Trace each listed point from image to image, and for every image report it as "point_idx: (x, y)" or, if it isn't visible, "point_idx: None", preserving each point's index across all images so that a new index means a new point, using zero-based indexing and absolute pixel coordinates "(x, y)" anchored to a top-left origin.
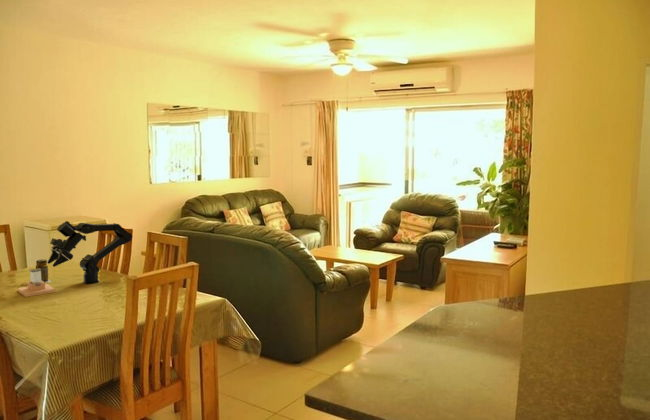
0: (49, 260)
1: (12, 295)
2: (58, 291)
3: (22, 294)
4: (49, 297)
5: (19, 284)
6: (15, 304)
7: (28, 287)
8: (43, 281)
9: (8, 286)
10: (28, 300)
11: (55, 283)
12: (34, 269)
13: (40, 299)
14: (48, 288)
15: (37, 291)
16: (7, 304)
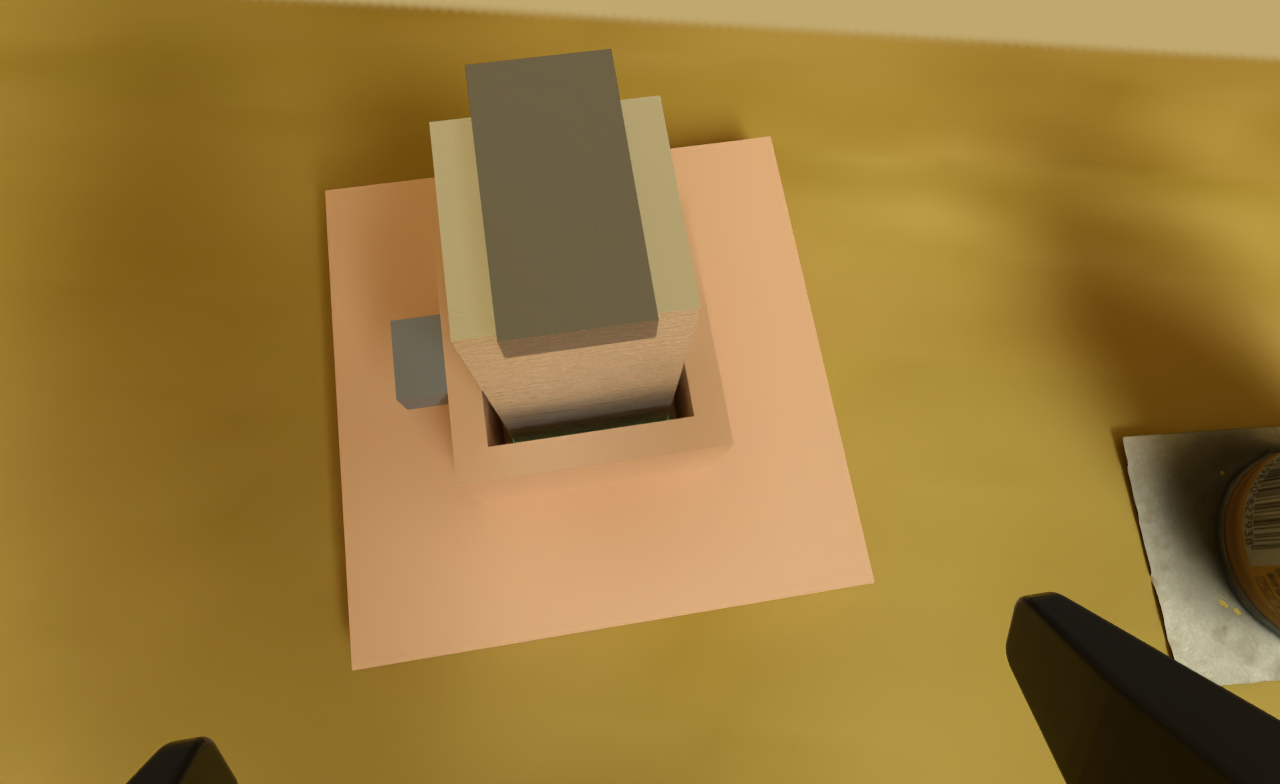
0: (1106, 708)
1: None
2: (377, 724)
3: None
4: (60, 529)
5: (1181, 212)
6: (15, 81)
7: None
8: (1230, 557)
9: (1108, 80)
10: (107, 237)
11: (1032, 749)
12: (584, 162)
13: (37, 390)
14: (482, 561)
15: (373, 370)
16: (92, 5)
